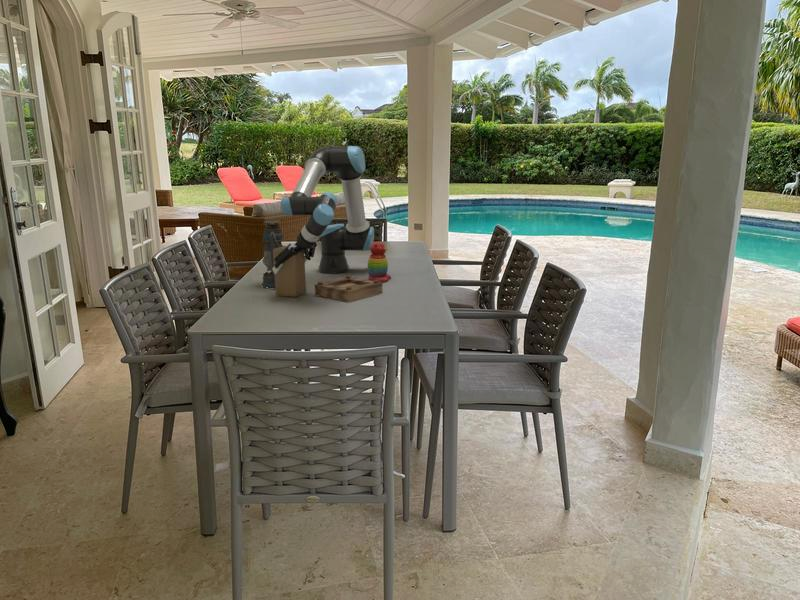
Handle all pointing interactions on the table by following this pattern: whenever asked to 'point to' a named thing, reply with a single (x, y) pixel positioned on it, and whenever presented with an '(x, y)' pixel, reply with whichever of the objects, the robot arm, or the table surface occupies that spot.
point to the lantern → (271, 250)
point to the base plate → (348, 297)
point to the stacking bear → (378, 263)
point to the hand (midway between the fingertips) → (286, 269)
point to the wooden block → (290, 275)
